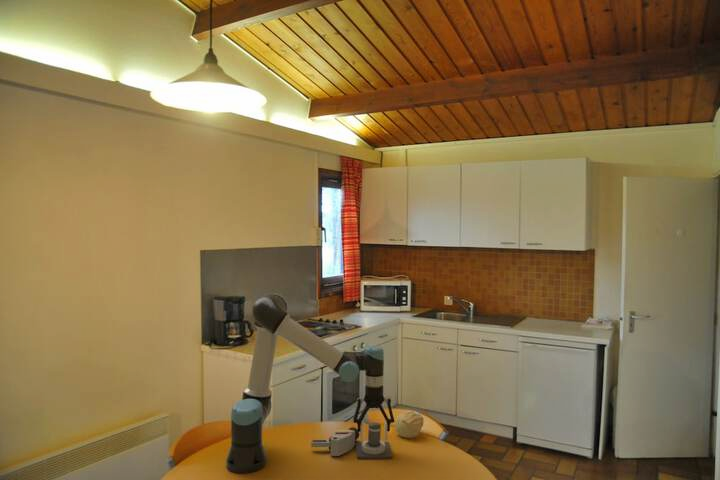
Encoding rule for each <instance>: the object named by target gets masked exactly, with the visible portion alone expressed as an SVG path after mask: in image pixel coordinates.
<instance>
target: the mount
mask: <svg viewBox="0 0 720 480" xmlns="http://www.w3.org/2000/svg"><path fill="white" fill-rule="evenodd" d="M355 449H356V450H355V452H356V460H393V453H392V450H391V446H390V442H389V441H382V440H380V447H377V448H371V447H368V439H366V440H364V441H355Z"/></svg>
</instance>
